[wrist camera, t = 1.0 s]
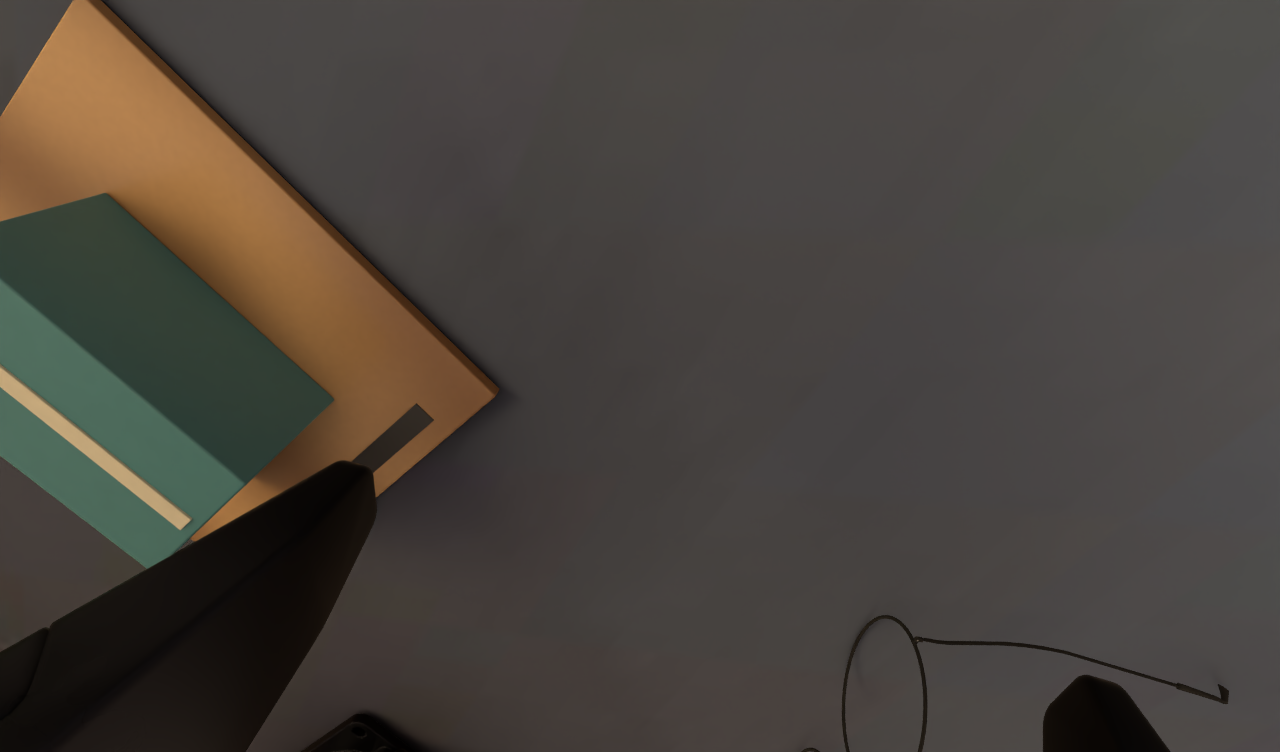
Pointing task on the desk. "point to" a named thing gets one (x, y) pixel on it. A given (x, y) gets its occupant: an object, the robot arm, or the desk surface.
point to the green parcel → (134, 378)
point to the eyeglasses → (1223, 691)
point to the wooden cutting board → (236, 248)
